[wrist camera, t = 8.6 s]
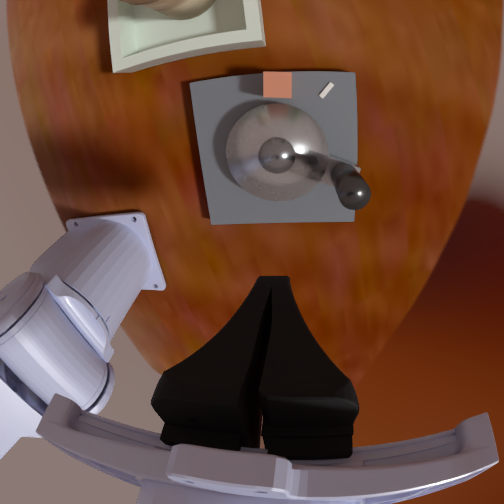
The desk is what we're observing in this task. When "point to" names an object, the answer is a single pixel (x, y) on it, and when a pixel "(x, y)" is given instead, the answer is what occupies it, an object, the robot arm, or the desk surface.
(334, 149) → the crank base
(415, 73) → the desk surface
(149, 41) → the tray
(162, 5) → the wooden knob
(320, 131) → the crank
